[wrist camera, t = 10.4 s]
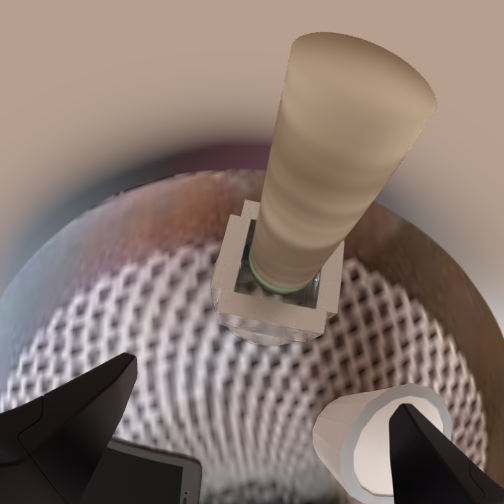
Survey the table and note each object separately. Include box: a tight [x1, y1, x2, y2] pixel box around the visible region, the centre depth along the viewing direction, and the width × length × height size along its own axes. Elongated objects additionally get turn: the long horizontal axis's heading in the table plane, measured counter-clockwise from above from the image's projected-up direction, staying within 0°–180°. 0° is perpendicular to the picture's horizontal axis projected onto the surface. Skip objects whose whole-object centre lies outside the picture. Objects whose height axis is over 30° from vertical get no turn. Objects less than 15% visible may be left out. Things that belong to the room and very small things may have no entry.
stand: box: [211, 200, 344, 346], centre depth 18 cm, size 8×8×5 cm
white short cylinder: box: [312, 383, 451, 504], centre depth 14 cm, size 7×7×7 cm
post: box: [249, 32, 437, 295], centre depth 11 cm, size 4×4×12 cm
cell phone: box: [78, 439, 202, 504], centre depth 14 cm, size 7×14×1 cm, turn 83°
